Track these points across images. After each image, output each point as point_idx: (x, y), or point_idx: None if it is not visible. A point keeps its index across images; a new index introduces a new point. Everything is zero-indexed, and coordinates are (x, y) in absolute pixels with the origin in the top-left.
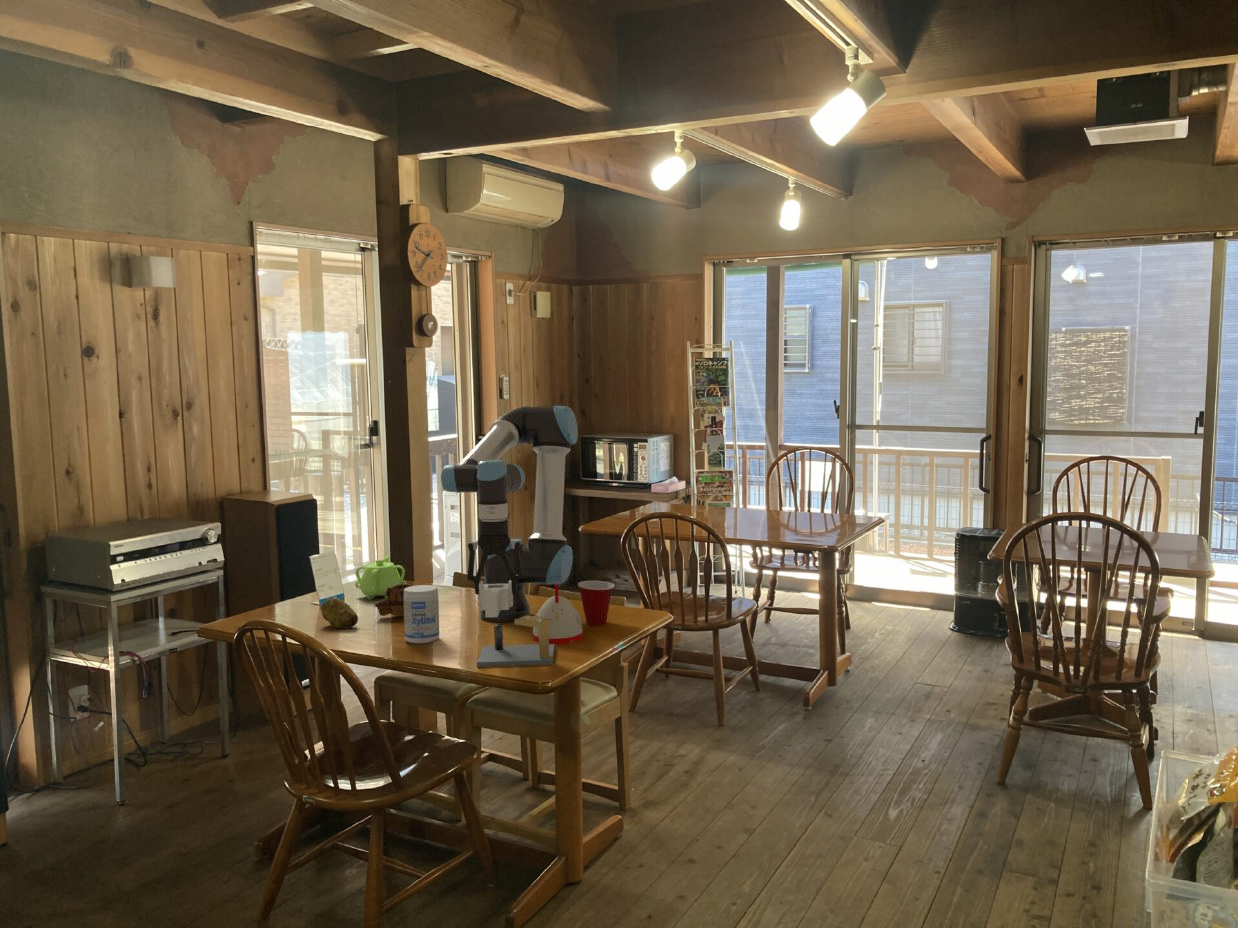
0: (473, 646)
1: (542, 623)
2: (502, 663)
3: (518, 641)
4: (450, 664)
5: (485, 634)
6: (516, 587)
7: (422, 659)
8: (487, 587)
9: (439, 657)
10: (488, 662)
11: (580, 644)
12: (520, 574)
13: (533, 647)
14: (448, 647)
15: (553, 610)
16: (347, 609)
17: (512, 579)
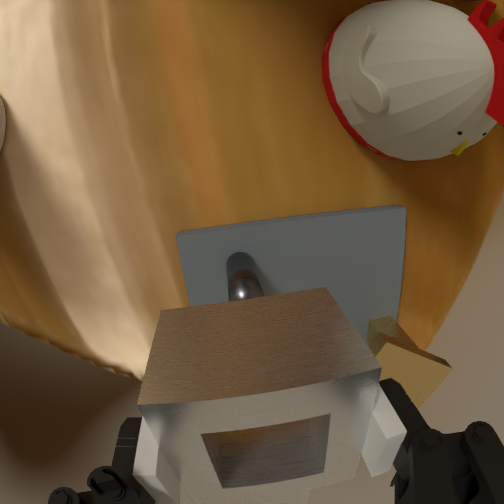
0: (128, 183)
1: (417, 405)
2: None
3: (278, 115)
4: (133, 356)
5: (135, 33)
6: (407, 405)
7: (47, 316)
8: (218, 480)
9: (76, 301)
10: None
11: (454, 169)
12: (464, 480)
13: (350, 246)
14: (57, 202)
15: (462, 134)
16: None
17: (404, 482)
